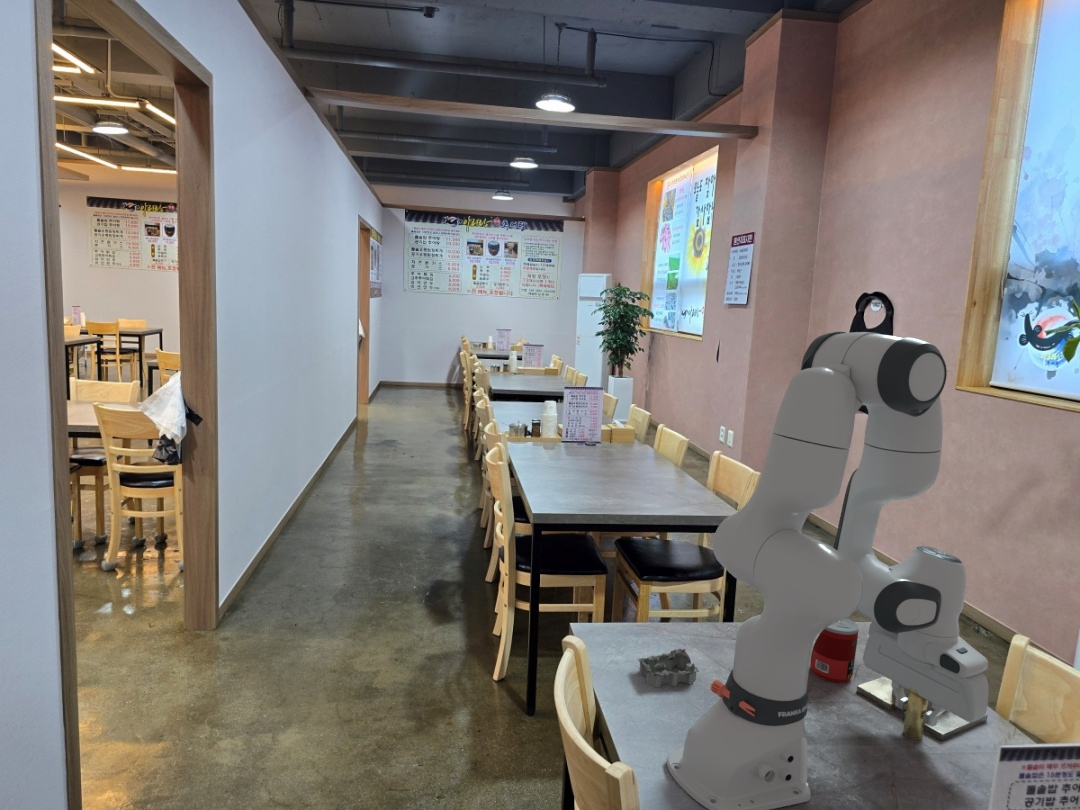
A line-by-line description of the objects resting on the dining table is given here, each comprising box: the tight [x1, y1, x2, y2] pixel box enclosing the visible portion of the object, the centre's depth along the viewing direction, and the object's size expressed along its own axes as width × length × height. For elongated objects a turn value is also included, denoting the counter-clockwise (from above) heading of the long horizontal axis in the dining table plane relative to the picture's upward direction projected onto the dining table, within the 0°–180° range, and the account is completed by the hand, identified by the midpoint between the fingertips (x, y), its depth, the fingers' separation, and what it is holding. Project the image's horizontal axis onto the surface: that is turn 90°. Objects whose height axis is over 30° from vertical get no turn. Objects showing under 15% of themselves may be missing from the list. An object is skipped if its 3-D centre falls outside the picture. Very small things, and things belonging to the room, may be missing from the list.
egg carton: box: [637, 648, 700, 688], centre depth 134 cm, size 11×8×4 cm
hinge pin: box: [902, 688, 928, 741], centre depth 119 cm, size 4×4×9 cm
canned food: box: [810, 617, 860, 684], centre depth 138 cm, size 8×8×11 cm
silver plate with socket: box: [856, 676, 988, 742], centre depth 128 cm, size 14×17×5 cm
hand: (915, 715), depth 119 cm, fingers open, 4 cm apart
